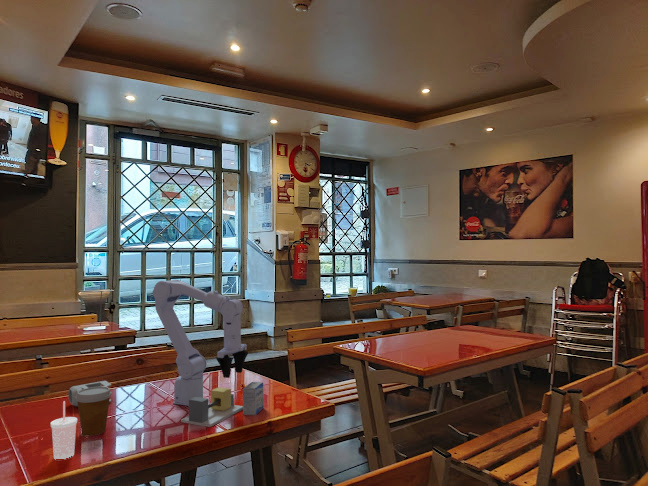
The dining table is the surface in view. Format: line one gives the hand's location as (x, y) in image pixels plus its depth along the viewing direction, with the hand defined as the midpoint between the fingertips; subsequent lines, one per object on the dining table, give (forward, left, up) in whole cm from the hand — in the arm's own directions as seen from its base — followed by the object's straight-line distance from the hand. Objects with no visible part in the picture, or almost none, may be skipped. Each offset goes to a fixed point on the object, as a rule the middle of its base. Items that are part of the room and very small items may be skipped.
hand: (232, 374), depth 161 cm
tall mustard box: (0, -6, -9) cm, 11 cm away
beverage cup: (-17, -51, -11) cm, 54 cm away
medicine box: (+10, -3, -11) cm, 15 cm away
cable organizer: (-48, -17, -11) cm, 52 cm away
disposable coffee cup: (-24, -36, -11) cm, 44 cm away
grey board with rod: (0, -11, -10) cm, 15 cm away
